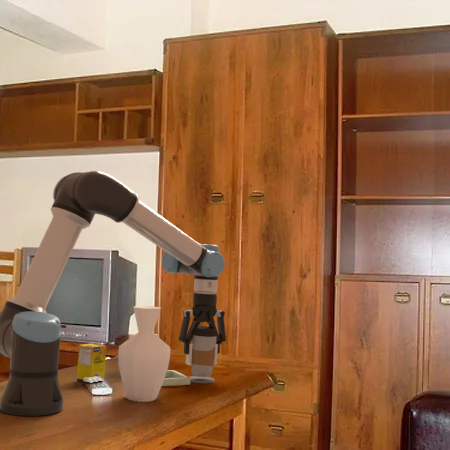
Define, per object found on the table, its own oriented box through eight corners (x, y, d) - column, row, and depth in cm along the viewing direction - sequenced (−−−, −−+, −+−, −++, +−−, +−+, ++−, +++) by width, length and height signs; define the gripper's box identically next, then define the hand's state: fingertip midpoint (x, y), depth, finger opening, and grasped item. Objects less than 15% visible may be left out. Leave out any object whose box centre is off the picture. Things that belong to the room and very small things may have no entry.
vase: (155, 406, 182) (161, 311, 183) (106, 400, 186) (112, 306, 187) (175, 396, 196) (180, 307, 197) (129, 390, 200) (134, 303, 201)
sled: (150, 386, 206) (152, 345, 206) (122, 370, 228) (124, 334, 228) (190, 384, 212) (192, 345, 212) (159, 369, 234) (161, 333, 234)
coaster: (193, 384, 214) (193, 382, 214) (181, 378, 222) (181, 376, 222) (219, 382, 219) (219, 380, 219) (206, 377, 227) (206, 375, 227)
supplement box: (104, 381, 211) (106, 345, 211) (90, 384, 206) (93, 347, 206) (90, 378, 214) (92, 342, 214) (76, 381, 209) (78, 344, 209)
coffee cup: (212, 378, 215) (215, 330, 215) (185, 376, 216) (189, 327, 217) (216, 374, 223) (219, 327, 223) (191, 371, 224) (194, 325, 225)
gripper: (179, 292, 213) (175, 367, 212) (239, 294, 223) (235, 365, 222) (170, 290, 220) (165, 362, 219) (228, 292, 229) (224, 361, 229)
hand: (201, 364), depth 221 cm, fingers closed on coffee cup, 8 cm apart
